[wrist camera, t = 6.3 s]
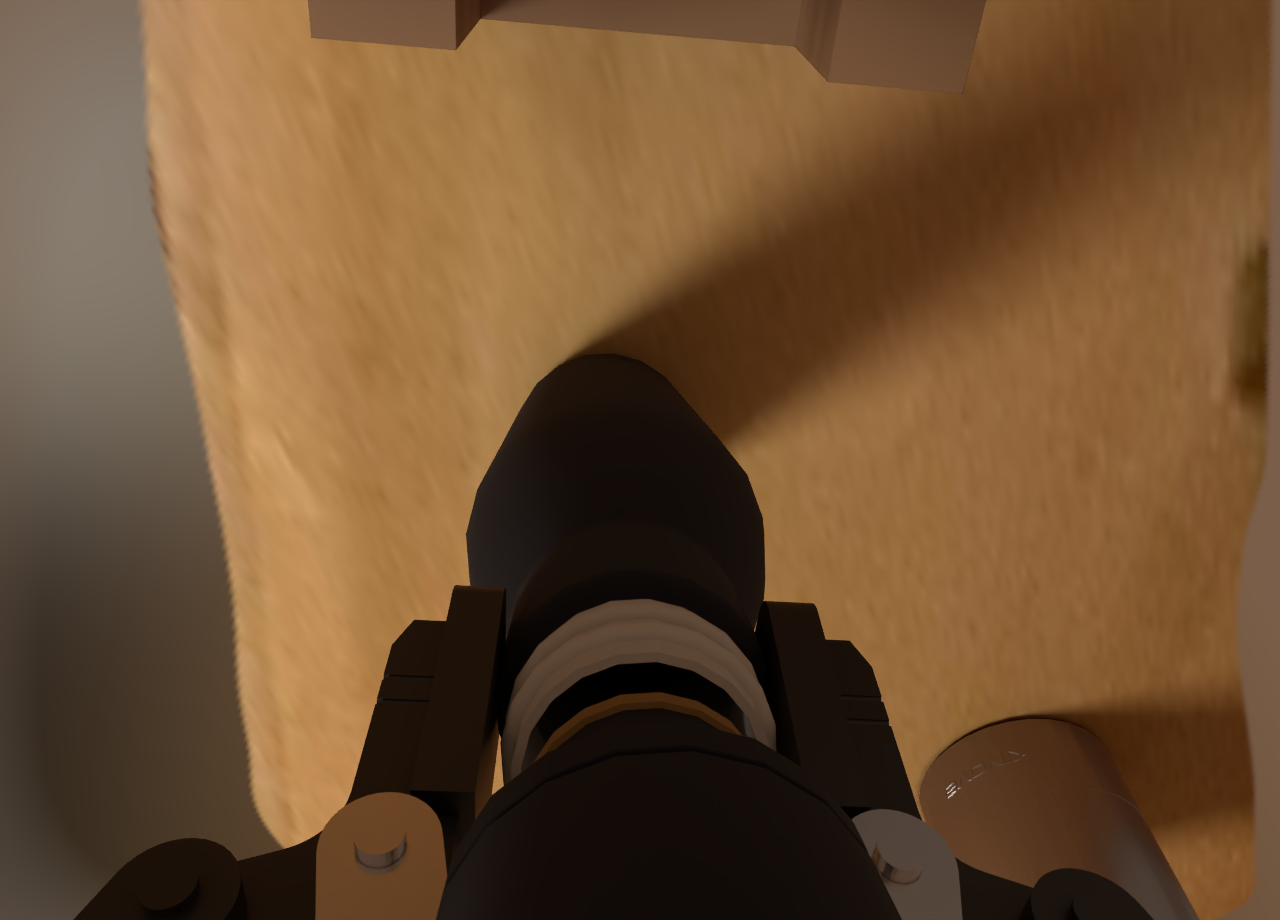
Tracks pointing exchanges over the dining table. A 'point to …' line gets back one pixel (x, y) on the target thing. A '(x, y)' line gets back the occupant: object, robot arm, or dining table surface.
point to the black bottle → (638, 680)
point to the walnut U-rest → (707, 29)
